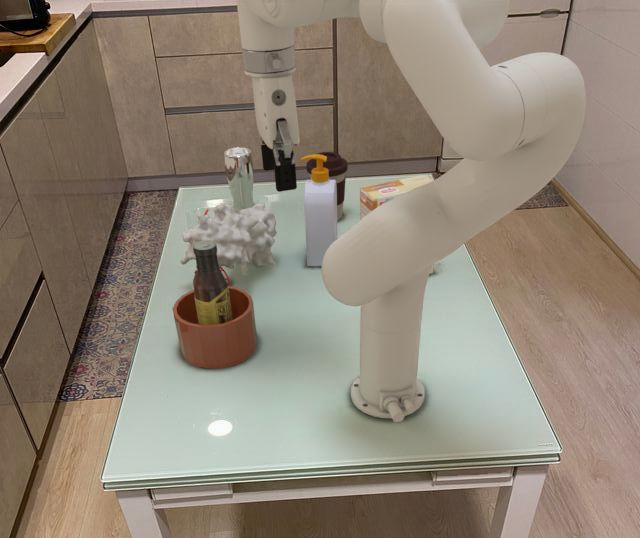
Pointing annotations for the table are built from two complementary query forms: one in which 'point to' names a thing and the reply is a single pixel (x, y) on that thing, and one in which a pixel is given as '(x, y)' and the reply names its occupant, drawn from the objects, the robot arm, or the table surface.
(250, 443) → the table surface
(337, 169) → the coffee cup
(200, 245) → the sauce bottle
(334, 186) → the soap bottle
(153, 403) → the table surface
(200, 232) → the lumpy white molecule
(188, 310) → the crock
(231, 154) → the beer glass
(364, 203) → the coffeecake box
